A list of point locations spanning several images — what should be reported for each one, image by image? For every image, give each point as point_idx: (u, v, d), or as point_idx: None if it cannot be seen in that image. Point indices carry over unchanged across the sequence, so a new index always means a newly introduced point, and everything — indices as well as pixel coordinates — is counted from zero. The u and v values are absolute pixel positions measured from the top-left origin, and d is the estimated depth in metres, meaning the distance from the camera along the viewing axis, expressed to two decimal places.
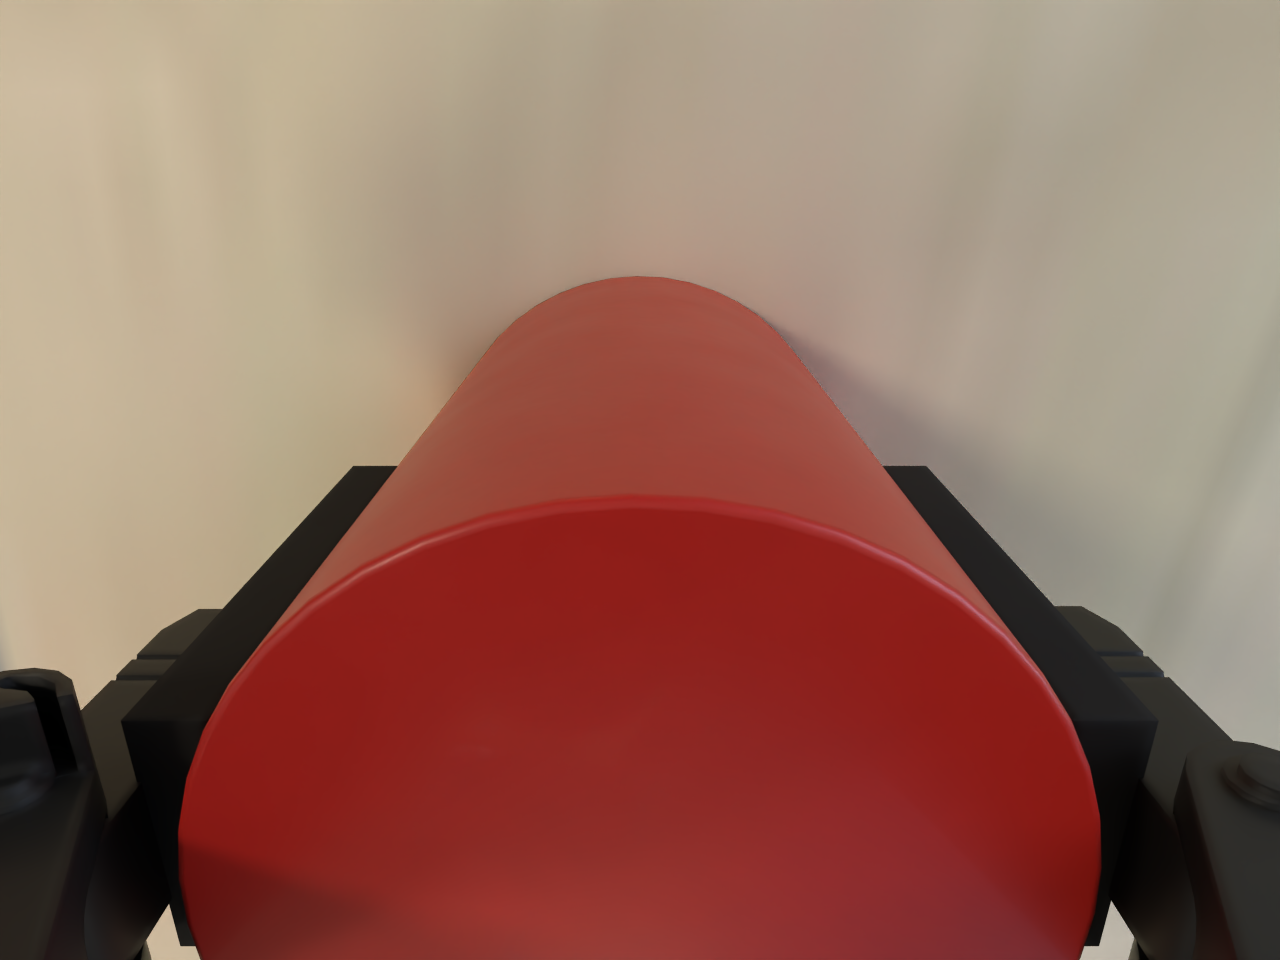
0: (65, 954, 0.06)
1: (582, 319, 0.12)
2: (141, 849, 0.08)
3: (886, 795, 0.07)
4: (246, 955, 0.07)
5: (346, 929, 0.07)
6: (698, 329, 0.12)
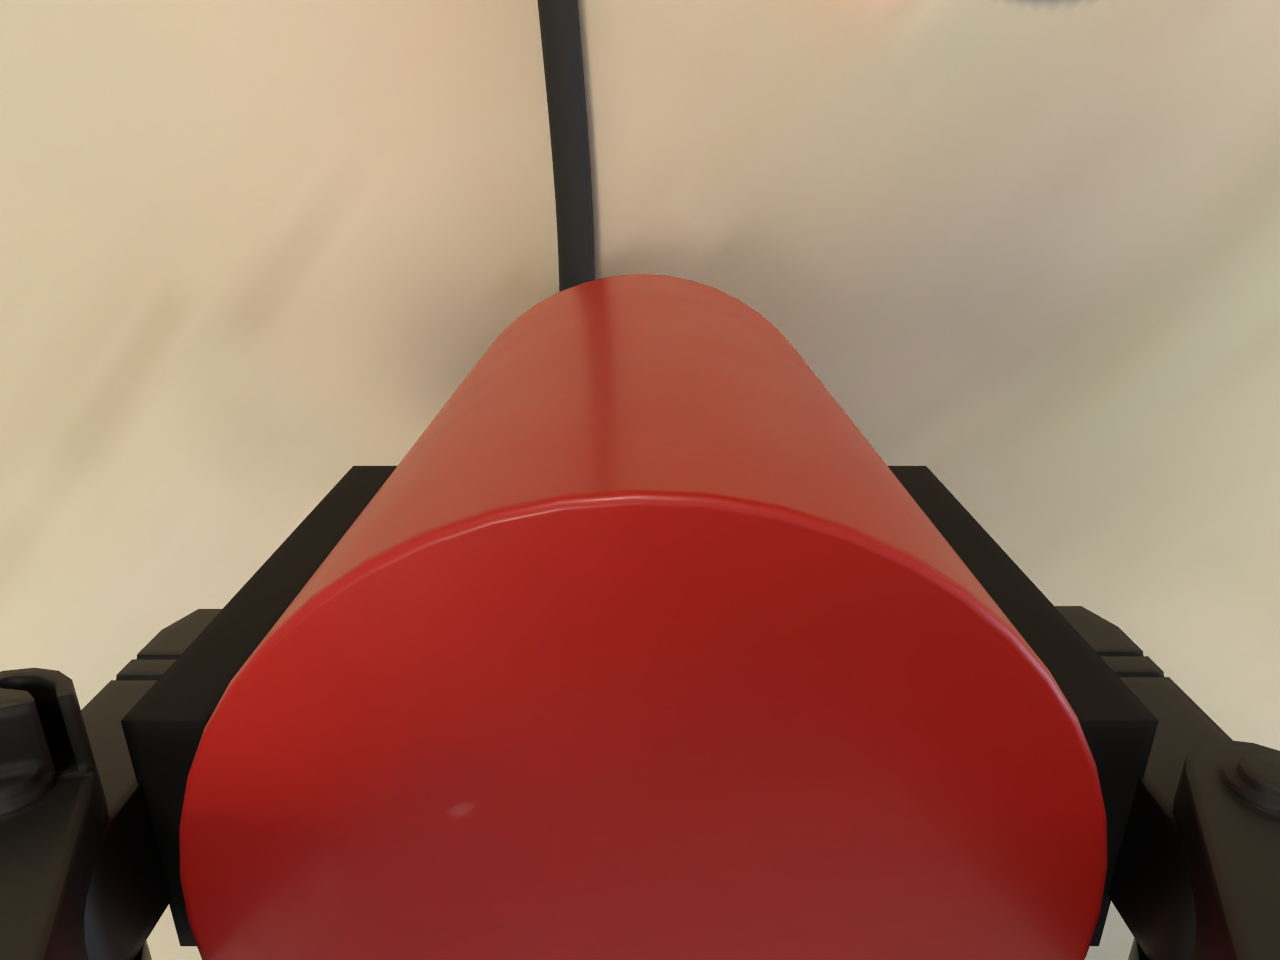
0: (65, 954, 0.06)
1: (584, 317, 0.12)
2: (141, 849, 0.08)
3: (891, 791, 0.07)
4: (248, 953, 0.07)
5: (349, 928, 0.07)
6: (701, 326, 0.12)
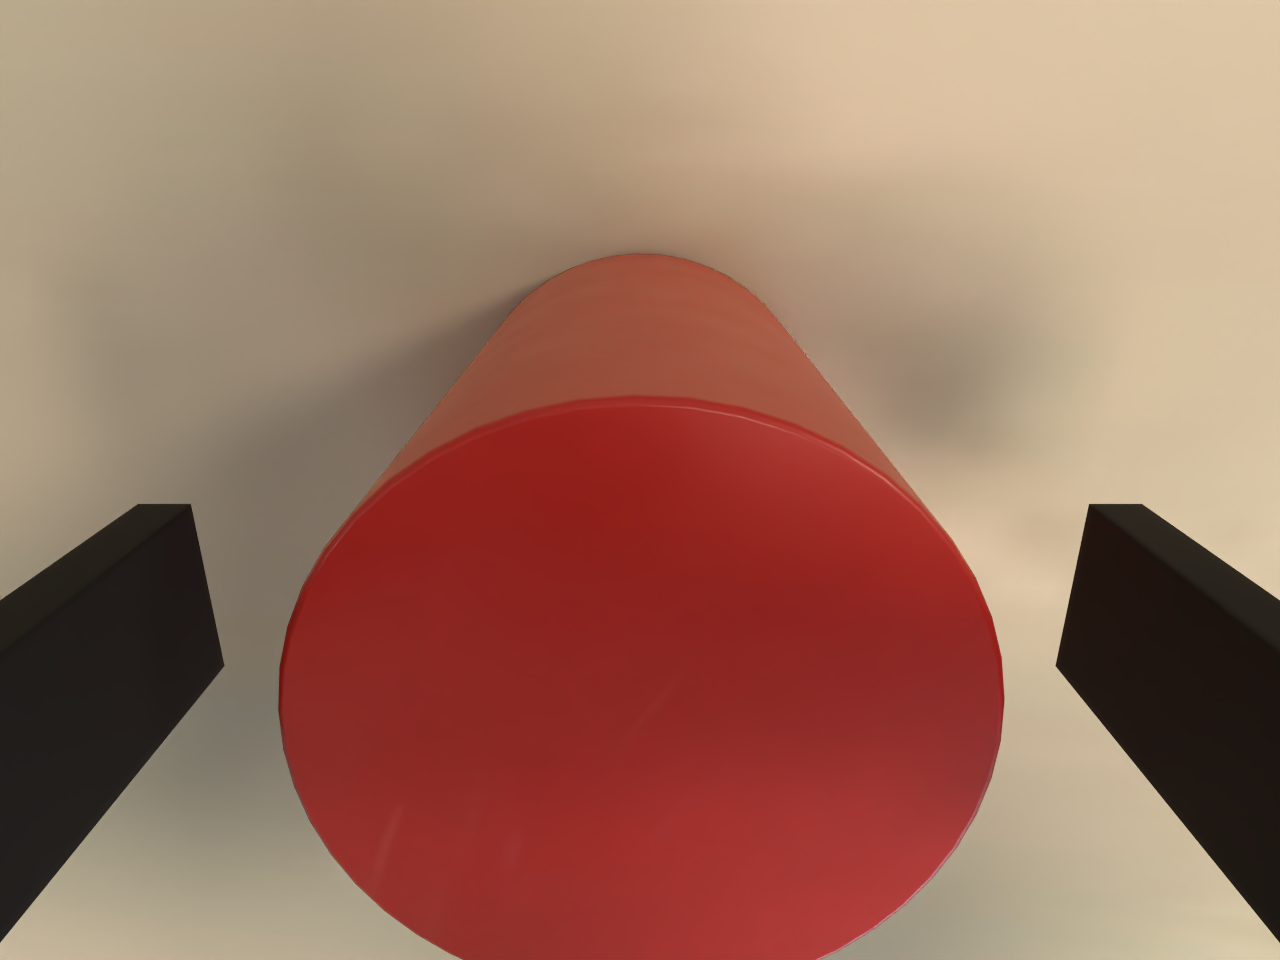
0: None
1: (591, 286, 0.14)
2: None
3: (833, 637, 0.08)
4: (329, 775, 0.09)
5: (410, 752, 0.09)
6: (691, 293, 0.13)
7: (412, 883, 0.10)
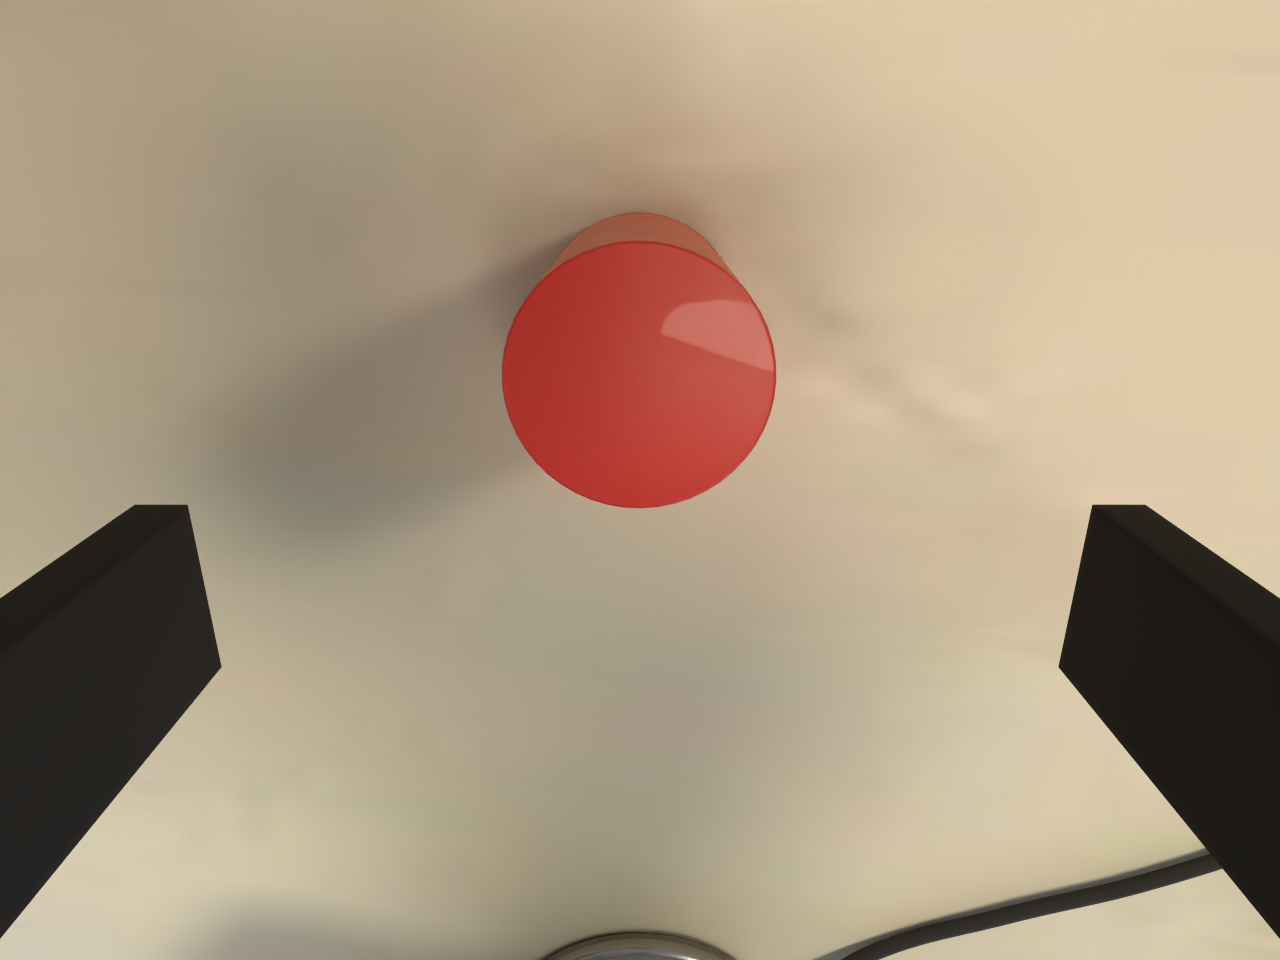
0: None
1: (614, 223, 0.29)
2: None
3: (709, 334, 0.23)
4: (519, 395, 0.24)
5: (551, 385, 0.24)
6: (663, 225, 0.28)
7: (548, 447, 0.24)
